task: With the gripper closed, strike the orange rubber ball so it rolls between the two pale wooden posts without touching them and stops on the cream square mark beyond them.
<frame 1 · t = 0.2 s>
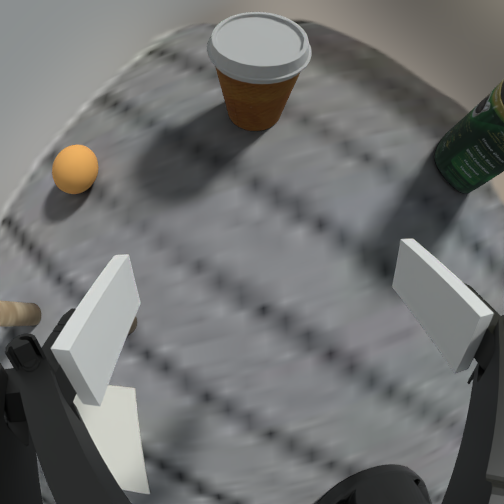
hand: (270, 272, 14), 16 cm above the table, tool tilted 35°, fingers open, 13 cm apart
disposable coffee cup: (254, 111, 34), on the table
post 1: (33, 314, 28), on the table
coffee jar: (456, 163, 34), on the table
ball: (75, 169, 29), on the table
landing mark: (86, 436, 26), on the table
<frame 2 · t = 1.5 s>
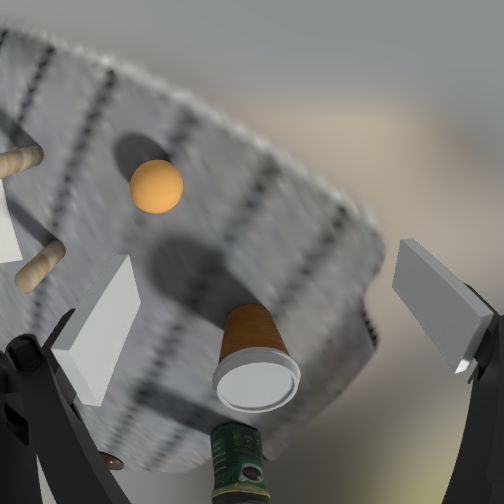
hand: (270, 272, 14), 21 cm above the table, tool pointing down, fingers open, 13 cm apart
disposable coffee cup: (249, 321, 41), on the table
post 1: (35, 155, 29), on the table
coffee jar: (235, 432, 52), on the table
ball: (156, 186, 29), on the table
post 2: (57, 249, 34), on the table
candlestick: (107, 459, 57), on the table
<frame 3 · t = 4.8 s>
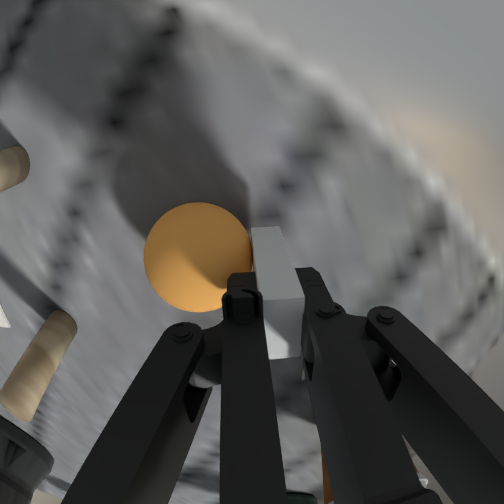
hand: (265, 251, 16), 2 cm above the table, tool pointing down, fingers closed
disposable coffee cup: (348, 412, 27), on the table
post 1: (16, 164, 15), on the table
coffee jar: (288, 498, 39), on the table
ball: (198, 257, 15), on the table
post 2: (63, 323, 20), on the table
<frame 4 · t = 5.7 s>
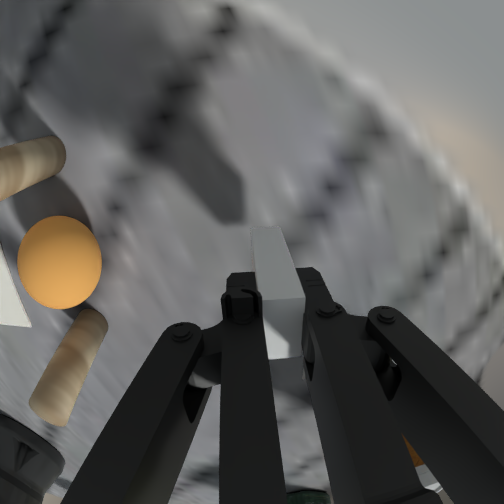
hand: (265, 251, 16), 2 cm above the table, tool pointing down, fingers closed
disposable coffee cup: (369, 407, 27), on the table
post 1: (50, 155, 15), on the table
coffee jar: (301, 495, 39), on the table
ball: (59, 262, 15), on the table
post 2: (93, 322, 21), on the table
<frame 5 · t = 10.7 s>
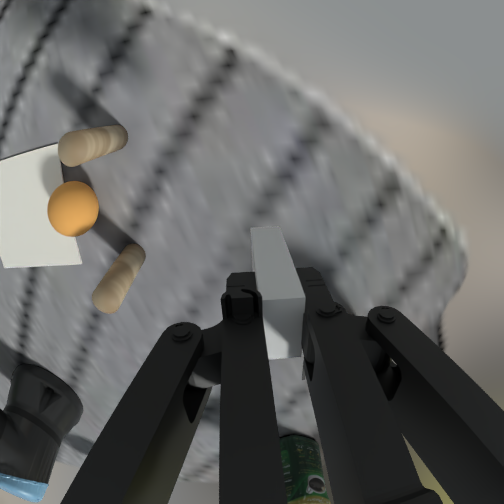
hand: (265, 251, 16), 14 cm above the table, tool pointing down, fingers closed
post 1: (115, 137, 26), on the table
coffee jar: (293, 443, 50), on the table
ball: (72, 208, 26), on the table
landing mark: (24, 213, 28), on the table
post 2: (134, 254, 31), on the table
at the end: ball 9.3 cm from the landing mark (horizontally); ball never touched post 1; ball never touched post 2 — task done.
